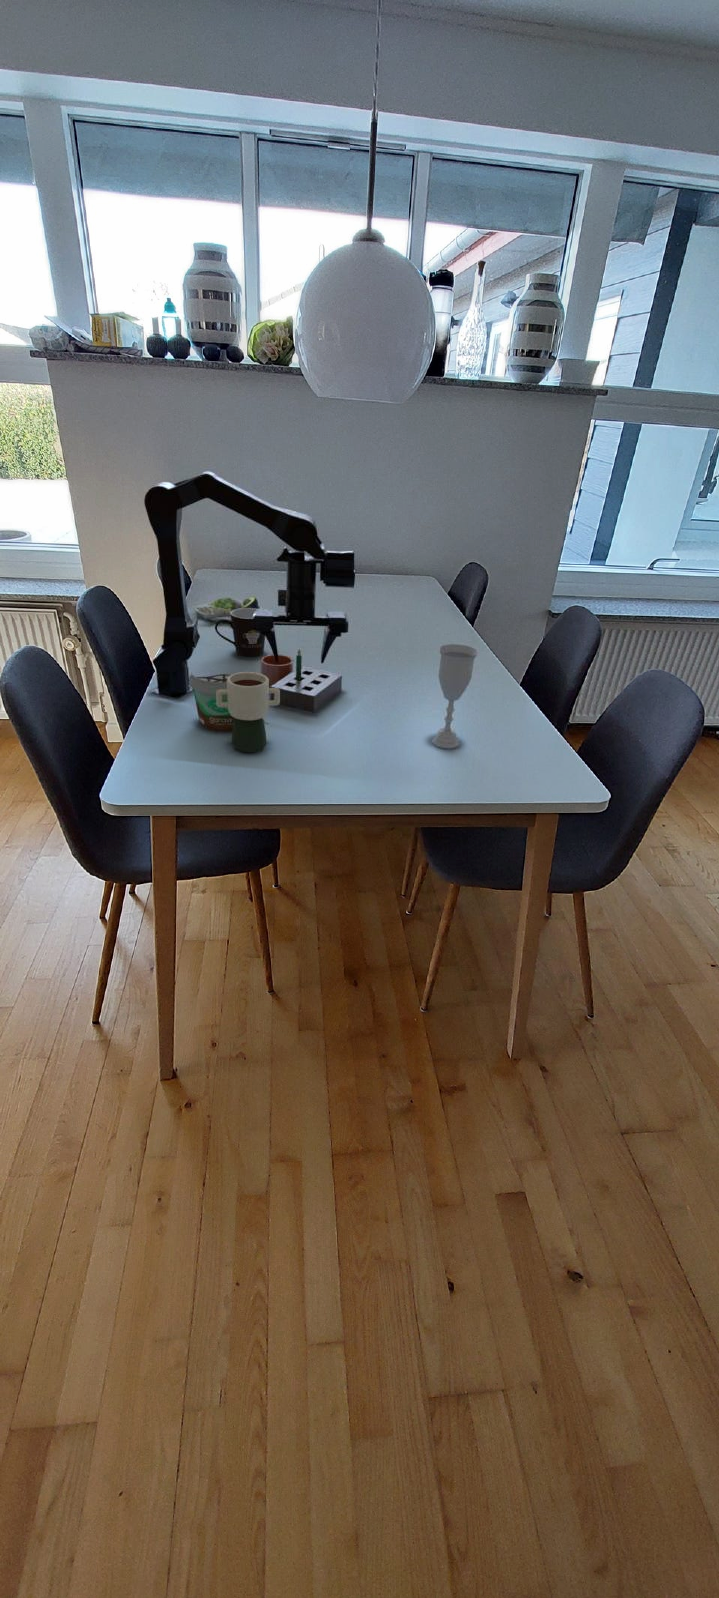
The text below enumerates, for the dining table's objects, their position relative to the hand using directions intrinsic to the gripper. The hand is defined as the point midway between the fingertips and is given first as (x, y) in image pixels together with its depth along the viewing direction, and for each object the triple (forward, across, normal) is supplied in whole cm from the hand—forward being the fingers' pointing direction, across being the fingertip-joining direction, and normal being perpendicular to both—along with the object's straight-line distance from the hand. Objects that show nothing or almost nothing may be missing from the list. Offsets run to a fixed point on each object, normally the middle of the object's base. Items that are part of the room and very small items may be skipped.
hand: (299, 662), depth 141 cm
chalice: (+8, -27, +22) cm, 35 cm away
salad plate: (+8, +16, -58) cm, 61 cm away
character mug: (+8, +10, +24) cm, 27 cm away
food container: (+8, +15, +15) cm, 23 cm away
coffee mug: (+8, +12, -26) cm, 29 cm away
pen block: (+8, -2, +1) cm, 8 cm away
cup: (+8, +4, -8) cm, 12 cm away
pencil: (+8, 0, 0) cm, 8 cm away
